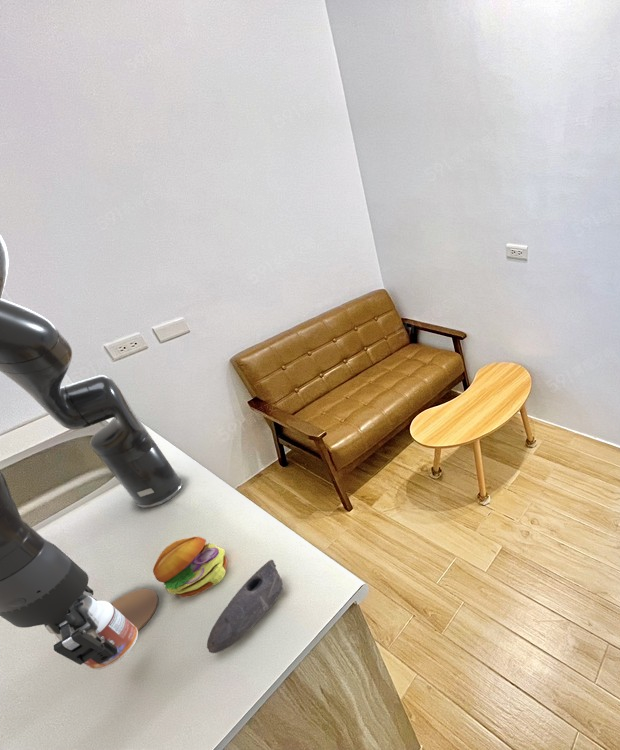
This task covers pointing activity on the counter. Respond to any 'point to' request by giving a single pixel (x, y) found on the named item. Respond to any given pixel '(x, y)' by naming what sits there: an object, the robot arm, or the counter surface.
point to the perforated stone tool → (246, 608)
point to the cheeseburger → (190, 566)
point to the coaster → (137, 606)
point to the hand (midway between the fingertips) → (105, 639)
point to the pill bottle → (110, 630)
